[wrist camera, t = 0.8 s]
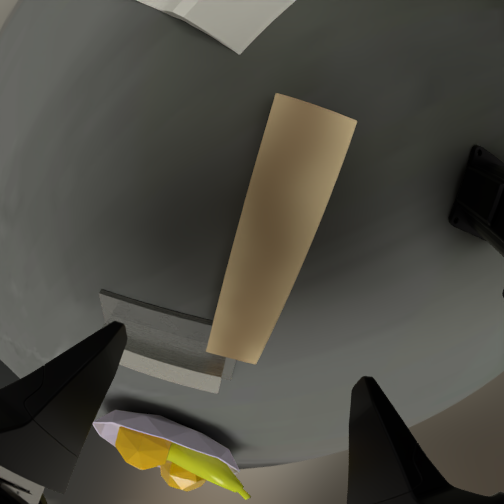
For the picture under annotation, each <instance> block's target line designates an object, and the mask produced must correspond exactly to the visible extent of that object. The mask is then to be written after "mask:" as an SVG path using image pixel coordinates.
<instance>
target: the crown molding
mask: <svg viewBox="0 0 504 504" xmlns="http://www.w3.org/2000/svg"><path fill="white" fill-rule="evenodd" d="M136 1H138V2H141V3H143V4H146V5H148V6H150V7H153V8H155V9H157V10H160V11H162V12H164V13H166V14H168V15H170V16H172V17H175V18H178V19H181V20H183V21H185V22H187V23H188V24H190V25H192V26H193V27H195V28H197V29H199V30H201V31H203V32H204V33H206V34H208V35H209V36H211V37H213V38H214V39H216V40H217V41H219V42H220V43H222V44H223V45H225V46H226V47H228V48H230V49H231V50H233V51H234V52H236V53H237V54H239V55H240V54H241V53H242V52H243V51H244V50H245V48H246V47H247V46H248V45H249V44H250V43H251V42H252V41H253V40H254V39H255V38H256V37H257V36H258V35H259V34H260V33H261V32H262V31H263V30H264V29H265V28H266V27H267V26H268V25H269V24H270V23H271V22H272V21H273V20H275V19H276V18H277V17H278V16H279V15H280V14H281V13H282V12H283V11H284V10H285V9H287V8H288V7H289V6H290V5H291V4H292V3H293V2H295V1H296V0H136Z"/></svg>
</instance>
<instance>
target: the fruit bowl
mask: <svg viewBox="0 0 504 504" xmlns="http://www.w3.org/2000/svg"><path fill="white" fill-rule="evenodd" d="M93 426H94V427H95V429H96V431H97V432H98V434H99V435H100V436H101V437H102V438H104V439H105V440H107V441H108V442H110V443H111V444H112V445H114V446H116V448H117V449H118V451H119V452H120V454H121V455H122V457H123V458H124V460H125V461H126V462H127V463H129V464H130V465H132V466H134V467H136V468H138V469H140V470H145V469H149V468H153V467H156V466H157V467H160V469H161V476H162V477H163V478H164V480H165V481H166V482H167V484H168V485H169V486H171V487H174V488H177V489H180V490H183V491H190V490H193V489H195V488H198V487H201V486H202V485H203V484H204V483H205V481H206V480H208V481H210V482H212V483H214V484H216V485H219V486H221V487H223V488H226V489H228V490H231V491H233V492H238V493H239V494H240V495H241V496H242V497H243V498H244V499H245V500H247V499H249V498H250V497H251V496H250V495H249V494H248V493H247V492H246V491H245V490H244V489H243V487H244V486H243V485H242V484H241V483H240V481H239V480H238V479H237V478H236V476H235V474H237V473H238V472H240V470H239V468H238V466H237V464H236V462H235V460H234V458H233V456H232V454H231V452H230V450H229V449H228V448H226V447H224V446H223V445H221V444H219V443H218V442H216V441H214V440H213V439H211V438H210V437H208V436H207V435H205V434H203V433H200V432H198V431H196V430H193V429H191V428H188V427H186V426H183V425H181V424H178V423H176V422H174V421H172V420H169V419H167V418H165V417H163V416H161V415H153V414H143V413H135V412H128V411H121V410H114V411H112V412H110V413H108V414H106V415H104V416H102V417H101V418H99V419H97V420H95V421H93Z"/></svg>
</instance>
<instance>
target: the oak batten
mask: <svg viewBox="0 0 504 504" xmlns="http://www.w3.org/2000/svg"><path fill="white" fill-rule="evenodd" d="M356 124H357V121H356V120H354V119H351V118H349V117H346V116H344V115H341V114H339V113H336V112H333V111H331V110H328V109H325V108H322V107H320V106H317V105H314V104H311V103H308V102H305V101H302V100H298V99H295V98H292V97H289V96H285V95H282V94H278V93H276V95H275V98H274V101H273V105H272V108H271V111H270V115H269V118H268V121H267V125H266V128H265V132H264V135H263V139H262V142H261V145H260V149H259V152H258V156H257V159H256V163H255V166H254V170H253V174H252V177H251V181H250V184H249V188H248V191H247V195H246V199H245V202H244V206H243V210H242V213H241V217H240V221H239V224H238V228H237V232H236V235H235V239H234V243H233V247H232V250H231V254H230V258H229V262H228V266H227V270H226V273H225V277H224V281H223V285H222V289H221V293H220V297H219V301H218V305H217V309H216V313H215V317H214V321H213V325H212V329H211V333H210V337H209V341H208V345H207V349H206V352H209V353H212V354H216V355H220V356H223V357H227V358H231V359H235V360H239V361H243V362H247V363H252V364H256V363H257V361H258V359H259V357H260V355H261V353H262V351H263V349H264V347H265V345H266V343H267V341H268V339H269V337H270V335H271V333H272V330H273V328H274V326H275V324H276V322H277V320H278V318H279V316H280V313H281V311H282V309H283V307H284V305H285V303H286V300H287V298H288V296H289V294H290V291H291V289H292V287H293V285H294V282H295V280H296V278H297V276H298V273H299V271H300V269H301V266H302V264H303V262H304V260H305V257H306V255H307V252H308V250H309V248H310V245H311V243H312V241H313V238H314V236H315V233H316V231H317V228H318V226H319V223H320V221H321V218H322V216H323V213H324V211H325V208H326V206H327V203H328V201H329V198H330V196H331V193H332V190H333V188H334V185H335V182H336V180H337V177H338V174H339V172H340V169H341V166H342V164H343V161H344V158H345V155H346V152H347V150H348V147H349V144H350V141H351V138H352V135H353V132H354V130H355V127H356Z"/></svg>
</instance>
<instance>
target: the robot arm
mask: <svg viewBox="0 0 504 504" xmlns="http://www.w3.org/2000/svg"><path fill="white" fill-rule="evenodd" d="M478 150H479V153H478V154H477V151H478ZM455 218H456V220H455V221H454V219H455ZM449 223H450V224H451V225H452V226H454V227H456V228H458V229H461V230H463V231H465V232H468V233H470V234H472V235H474V236H477V237H479V238H481V239H483V240H485V241H487V242H488V243H490V244H491V245H492V246H493V247H494V248H495V249H496V250H497V251H498V252H499V253H500V254H501V255H502V256H503V257H504V163H503V162H502V161H500V160H499V159H498V158H496V157H495V156H494V155H492V154H491V153H490V152H488V151H487V150H485V149H484V148H482V147H481V146H478V145H475V146H474V147H473V149H472V152H471V156H470V159H469V162H468V166H467V169H466V172H465V175H464V178H463V181H462V184H461V187H460V190H459V193H458V195H457V198H456V201H455V203H454V206H453V209H452V211H451V214H450V216H449ZM502 294H503V297H504V290H503V293H502ZM126 344H127V332H126V327H125V325H124V324H123V323H121V322H118V321H113V322H111V323H110V324H108V325H106V326H105V327H103V328H102V329H100V330H98V331H97V332H95V333H94V334H92V335H91V336H89V337H87V338H86V339H84V340H83V341H81V342H79V343H78V344H76V345H75V346H73V347H72V348H70V349H68V350H67V351H65V352H64V353H62V354H61V355H59V356H57V357H56V358H54V359H53V360H51V361H50V362H48V363H46V364H45V366H42V367H40V368H39V369H37V370H35V371H34V372H32V373H30V374H29V375H27V376H25V377H23V378H21V379H20V380H18V381H16V382H14V383H12V384H9V385H7V386H5V387H3V388H1V389H0V504H47V502H46V499H45V497H44V495H43V490H44V487H46V488H48V489H51V490H53V491H56V492H59V493H62V494H64V493H65V492H66V489H67V486H68V483H69V480H70V478H71V475H72V472H73V470H74V467H75V464H76V462H77V459H78V457H79V454H80V452H81V449H82V447H83V445H84V442H85V440H86V437H87V435H88V433H89V431H90V428H91V426H92V424H93V421H94V419H95V417H96V415H97V413H98V410H99V408H100V406H101V404H102V402H103V400H104V398H105V395H106V393H107V391H108V389H109V387H110V385H111V383H112V381H113V379H114V377H115V374H116V371H117V369H118V366H119V363H120V360H121V357H122V355H123V352H124V349H125V347H126ZM347 504H504V493H503V492H498V493H496V494H494V495H492V496H490V497H488V496H483V495H479V494H475V493H472V492H468V491H465V490H461V489H459V488H456V487H454V486H452V485H451V484H449V483H448V482H447V481H446V480H445V478H444V477H443V476H442V475H441V474H440V472H439V471H438V470H437V469H436V467H435V466H434V465H433V464H432V462H431V461H430V460H429V458H428V457H427V456H426V454H425V453H424V451H423V450H422V449H421V447H420V445H419V444H418V443H417V441H416V440H415V438H414V436H413V435H412V434H411V432H410V430H409V429H408V427H407V426H406V424H405V423H404V421H403V420H402V418H401V417H400V416H399V414H398V413H397V411H396V410H395V408H394V407H393V405H392V404H391V402H390V401H389V399H388V398H387V397H386V395H385V394H384V392H383V391H382V389H381V388H380V386H379V385H378V384H377V382H376V381H375V379H374V378H373V377H369V376H363V377H362V378H361V379H360V380H359V381H358V382H357V383H356V384H355V386H354V387H353V389H352V393H351V407H350V418H349V473H348V493H347Z"/></svg>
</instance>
